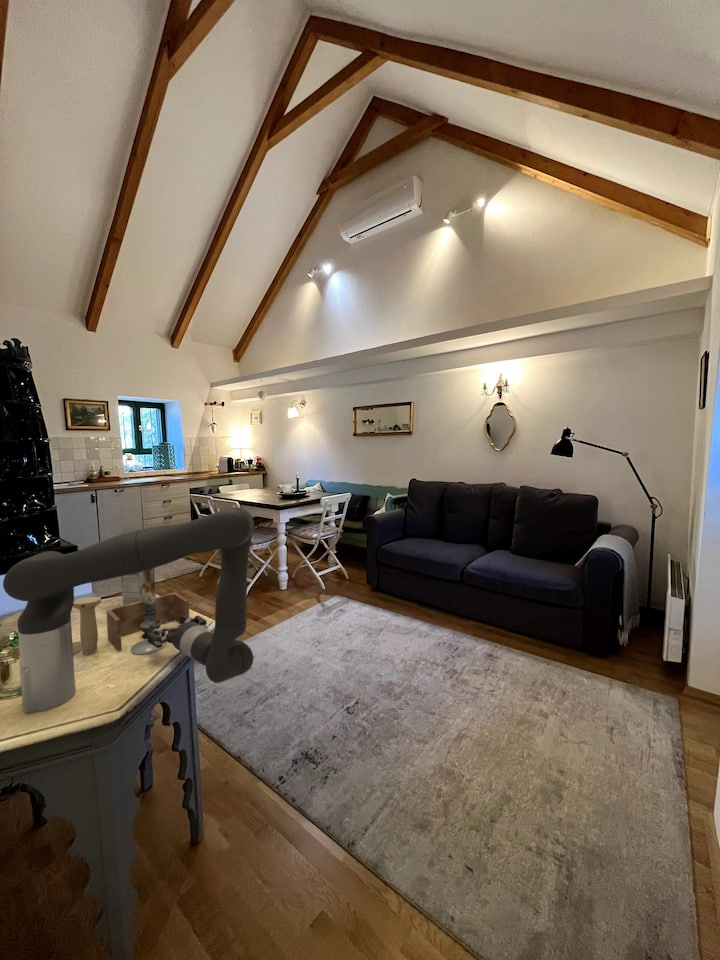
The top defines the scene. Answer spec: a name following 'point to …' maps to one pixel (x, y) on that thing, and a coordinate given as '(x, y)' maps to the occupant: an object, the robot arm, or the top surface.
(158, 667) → the top surface
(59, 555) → the robot arm
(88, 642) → the turned wooden grip
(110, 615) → the walnut cubby
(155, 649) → the coaster
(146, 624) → the grey metal upright piece
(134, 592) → the coffee box
